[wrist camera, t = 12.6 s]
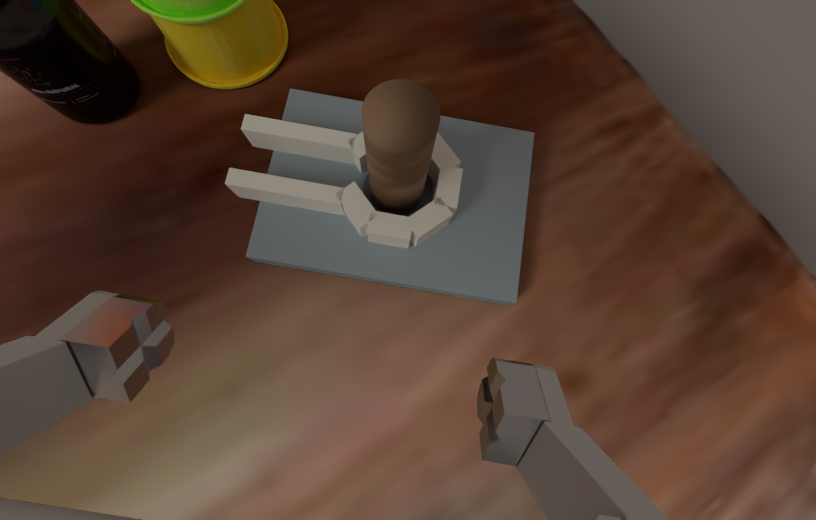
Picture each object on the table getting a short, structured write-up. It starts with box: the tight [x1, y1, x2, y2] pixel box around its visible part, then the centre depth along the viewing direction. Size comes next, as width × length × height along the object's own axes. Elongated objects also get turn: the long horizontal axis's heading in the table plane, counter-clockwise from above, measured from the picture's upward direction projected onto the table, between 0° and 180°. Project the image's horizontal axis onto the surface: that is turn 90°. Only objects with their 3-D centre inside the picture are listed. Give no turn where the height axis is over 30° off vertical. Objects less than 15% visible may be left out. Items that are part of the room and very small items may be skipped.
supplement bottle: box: [0, 0, 139, 124], centre depth 26 cm, size 7×7×12 cm
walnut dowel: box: [361, 79, 441, 215], centre depth 24 cm, size 4×4×10 cm
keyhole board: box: [225, 88, 534, 306], centre depth 29 cm, size 22×14×4 cm, turn 80°
